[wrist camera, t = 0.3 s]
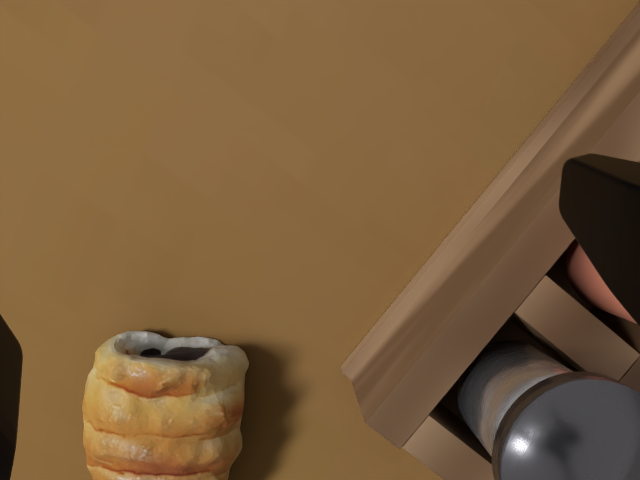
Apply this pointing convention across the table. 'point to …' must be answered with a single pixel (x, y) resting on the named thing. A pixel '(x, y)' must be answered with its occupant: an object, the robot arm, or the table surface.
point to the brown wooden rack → (505, 279)
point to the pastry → (163, 408)
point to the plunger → (549, 417)
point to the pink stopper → (591, 283)
